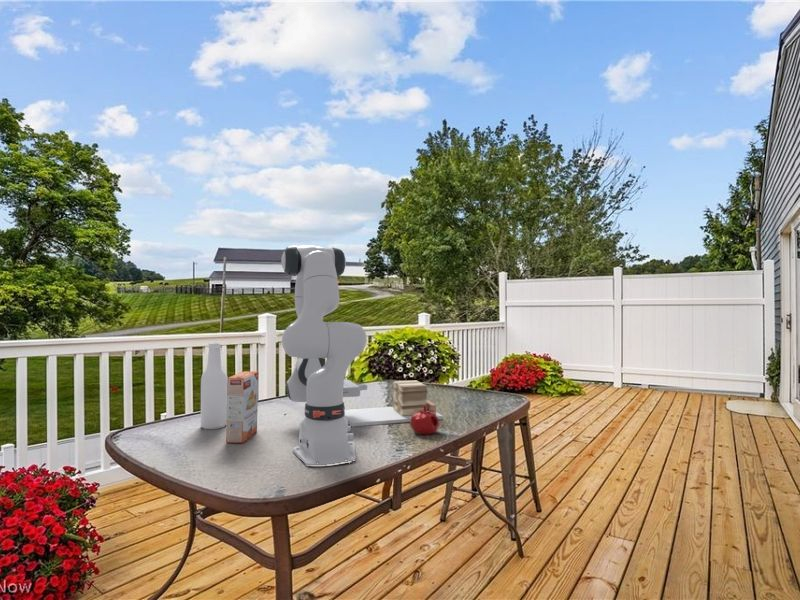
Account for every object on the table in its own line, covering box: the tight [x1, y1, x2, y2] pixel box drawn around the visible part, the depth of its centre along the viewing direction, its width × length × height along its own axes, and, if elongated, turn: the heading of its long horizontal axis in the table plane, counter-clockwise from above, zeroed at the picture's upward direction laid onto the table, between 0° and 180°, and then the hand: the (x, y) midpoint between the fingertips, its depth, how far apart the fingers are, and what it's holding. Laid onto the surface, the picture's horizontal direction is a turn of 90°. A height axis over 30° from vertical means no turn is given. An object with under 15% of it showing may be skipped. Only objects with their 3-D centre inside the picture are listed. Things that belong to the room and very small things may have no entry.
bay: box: [344, 399, 444, 427], centre depth 180 cm, size 20×36×5 cm, turn 108°
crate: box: [392, 380, 428, 416], centre depth 183 cm, size 12×10×11 cm
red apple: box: [409, 405, 440, 435], centre depth 159 cm, size 10×10×9 cm
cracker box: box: [225, 371, 259, 444], centre depth 152 cm, size 14×6×21 cm, turn 179°
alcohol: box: [200, 341, 228, 430], centre depth 164 cm, size 9×9×30 cm
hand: (366, 386), depth 176 cm, fingers closed
